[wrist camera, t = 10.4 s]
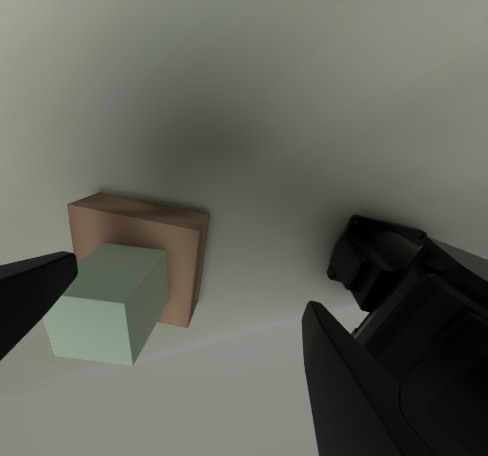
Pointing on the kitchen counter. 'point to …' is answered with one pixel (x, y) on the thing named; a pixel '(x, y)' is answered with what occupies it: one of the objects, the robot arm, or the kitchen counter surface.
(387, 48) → the kitchen counter surface
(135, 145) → the kitchen counter surface
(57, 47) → the kitchen counter surface
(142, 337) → the sage cube
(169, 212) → the walnut block
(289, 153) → the kitchen counter surface
